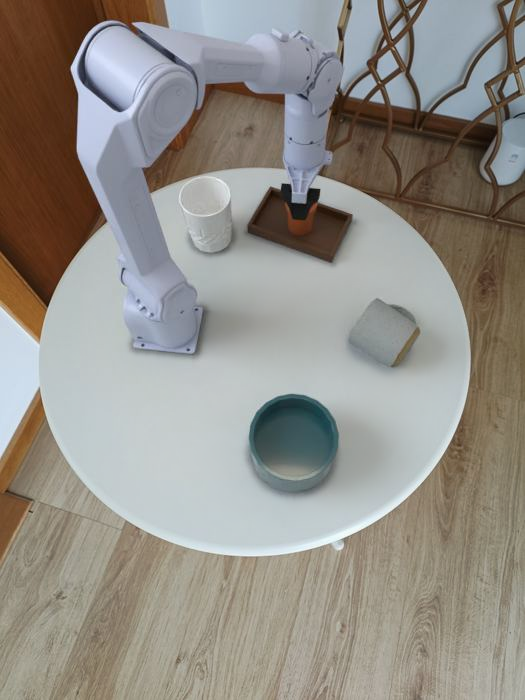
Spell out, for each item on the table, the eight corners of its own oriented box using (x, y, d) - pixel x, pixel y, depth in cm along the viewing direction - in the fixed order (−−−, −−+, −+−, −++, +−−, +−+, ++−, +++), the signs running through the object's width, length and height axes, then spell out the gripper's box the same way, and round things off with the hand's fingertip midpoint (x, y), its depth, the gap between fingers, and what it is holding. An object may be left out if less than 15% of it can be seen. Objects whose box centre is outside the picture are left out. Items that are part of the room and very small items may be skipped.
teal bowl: (246, 487, 72) (243, 474, 65) (257, 408, 77) (255, 389, 70) (329, 497, 71) (335, 485, 64) (335, 417, 76) (341, 398, 69)
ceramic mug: (391, 378, 78) (403, 356, 71) (343, 349, 80) (350, 324, 73) (426, 327, 82) (440, 300, 75) (380, 300, 84) (389, 272, 77)
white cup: (240, 222, 91) (236, 180, 82) (228, 259, 88) (223, 220, 79) (196, 214, 92) (187, 172, 83) (182, 251, 89) (172, 211, 80)
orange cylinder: (295, 242, 88) (296, 219, 83) (278, 221, 90) (278, 197, 85) (321, 228, 90) (324, 204, 84) (304, 208, 91) (306, 183, 86)
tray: (247, 232, 90) (246, 225, 88) (270, 194, 94) (270, 186, 92) (331, 263, 87) (332, 256, 85) (351, 222, 91) (353, 214, 89)
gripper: (331, 172, 68) (323, 238, 81) (338, 94, 75) (330, 166, 87) (277, 168, 69) (277, 234, 81) (288, 90, 75) (286, 163, 87)
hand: (301, 198), depth 84 cm, fingers open, 7 cm apart
